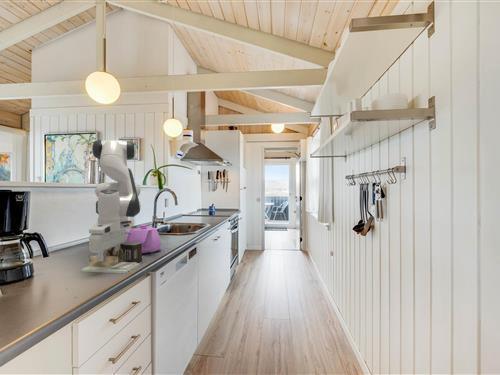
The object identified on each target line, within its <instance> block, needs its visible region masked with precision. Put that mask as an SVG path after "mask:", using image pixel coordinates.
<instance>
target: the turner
mask: <svg viewBox="0 0 500 375" xmlns="http://www.w3.org/2000/svg"><path fill="white" fill-rule="evenodd" d="M104 256H105V260H104V261H99V257H98V255H91V256H89V257H88V266H91V267H111V269H119V270H127V269H129V268H130V267H132V266H134V265H136V264H137V262H121V263H119V264H118V257H117V256H106V255H104Z"/></svg>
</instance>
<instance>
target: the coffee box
mask: <svg viewBox="0 0 500 375" xmlns="http://www.w3.org/2000/svg"><path fill="white" fill-rule="evenodd" d="M114 249H115V247H112V248H109V249H106V250H105V256H117V257H118V263H121V262H137V263H141V262H143V253H142V243H136V242H125V243H123V244H120V249H119V254H118V255H113V251H114Z"/></svg>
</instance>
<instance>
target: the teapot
mask: <svg viewBox="0 0 500 375" xmlns="http://www.w3.org/2000/svg"><path fill="white" fill-rule="evenodd" d="M125 234H128V236H127V240H126V241H125V242H136V243H142V254H147V253H151V254H152V253H155V252H157V251H159V250H160V248H161V247H162V244H161V243H162V241H161V237H160V234H159V232H158V229H157V228H156V227H153V226H148V224H145V223H144V224H140V225H139V227H136V228H135V227H134V228H132V229H131V230H130V232H127V231H125Z"/></svg>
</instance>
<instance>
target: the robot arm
mask: <svg viewBox="0 0 500 375" xmlns="http://www.w3.org/2000/svg"><path fill="white" fill-rule="evenodd" d="M91 153H92V155H93V157H95V158H96V159H98V160H99V166H100V171H102V173H104V175H105V176H108V178H110V179H111V180H113V181H114V182H112V181H111V182H110V181H109V182H102V183H98V184H97V185H96V187H95V191H94V193H95V196H96V197H97V200H96V202H95V213H96V214H97V215H98V218H97V222H96V223H95V224H94V225H93V226H91V227H90V228H89V229H88V233H89V234H90V235H89V238H88V250H89V252H90V253H96V256H98V257H99V261H104V260H105V256H106V255H104V251H106V249H109V248H112V247H115V249H114V251H113V255H118V254H119V249H120V244H123V243H125V241H126V240H127V236H128V234H125V231H127V232H130V230H131V229H133V228H132V227H131V225H130V224H133V223H132V220H129V218H135V217H136V216H137V215H138V214H140V212H141V209H142V208H141V206H142V205H141V202H140V199H139V196H140V195H141V187H140V185H139V184H138V183H136V182H135V178H134V175H133V172H132V170H131V168H129V167H128V165H127V164H128V163H127V162H128V161H129V160H132V159H134V158H135V156H136V155H137V147H136V144H135V143H134V142H133V141H130V140H120V139H107V140H106V139H105V140H103V139H98V140H95V141H93V143H92V145H91ZM127 160H128V161H127ZM115 181H116V182H115Z"/></svg>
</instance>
